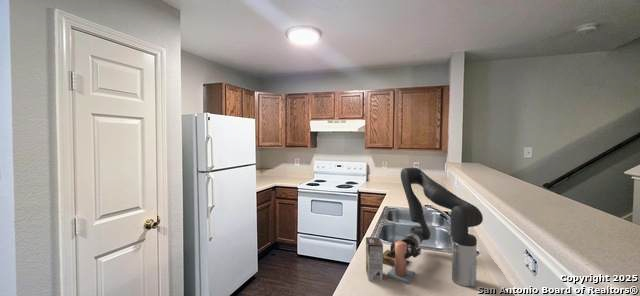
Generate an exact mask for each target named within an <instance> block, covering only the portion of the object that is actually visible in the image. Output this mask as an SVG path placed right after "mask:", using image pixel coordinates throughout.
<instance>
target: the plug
mask: <svg viewBox="0 0 640 296" xmlns="http://www.w3.org/2000/svg"><path fill="white" fill-rule="evenodd" d="M394 243H395V274H396V275H397V276H401V277H403V276H406V270H407V259H405V254H406V251H407V244H406V243H405V242H402V240H397V241H395V242H394Z"/></svg>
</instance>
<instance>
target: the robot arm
mask: <svg viewBox="0 0 640 296" xmlns="http://www.w3.org/2000/svg"><path fill="white" fill-rule="evenodd" d="M400 180H401V184H402V187H403V191H404V194H405V196H406V200H407V203H408V208H409V216H410V221H411V222H412V223H415V224H416V223H417V224H419V225H420V226H411V228H410V229H409V233H408V234H406V235H405V236H404V237H403V238H402V239H401V241H402V242H405V243H406V244H407V251H406V254H405V259H406V260H408V259H410V258H411V257H413V258H417V257H418V256H420V255H421V254H422V249H421V247H420V245H421V244H422V242H423V241H428V240H429V239H431V230H430V229H429V226H428V224H427V222H426V219H425V215H424V209H423V205H422V203H421V201H420V200H419V198H418V197H417V196H416V194H415V193H414V191H413V188H412V185H419V186H421V187H422V188H423V189H422V191H423V195H424V196H425V197H426V198H427V200H429V201H431V202H432V203H433V204H435V205H437V206H439V207H442V208H445V209H448V210H451V211H450V232H451V233H450V234H451V236H452V246H451V247H452V249H451V250H452V253H451V258H452V259H451V280H452V281H453V282H454V283H455V284H457V285H460V286H463V287H472V288H475V287H476V284H477V269H478V268H477V267H478V266H477V265H478V264H477V263H478V260H477V242H478V239H477V237H476V236H475V235H473V234H471V233H469V228H471V227H472V228H473V227H478V226H480V225H481V224H482V223H483V220H484V218H483V214H482V212H481V210H480V209H479V208H478V207H477V206H475V205H474V204H473V203H469V202H468V201H466V200H465V199H463V198H461V197H459V196H458V195H456V194H454V193H453V192H451V191H450V190H449V189H447V188H446V187H444V186H443V185H441V184H440V183H438V182H437V181H435V180H433V178H431V177H429V176H428V175H427V174H426V173H425V172H424V171H423V170H422V169H420V168H418V167H405V168H402V169H401V171H400ZM390 251H391V254H392V256H394V255H395V242H394V241H392V242H391V244H390Z"/></svg>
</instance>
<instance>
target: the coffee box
mask: <svg viewBox="0 0 640 296" xmlns="http://www.w3.org/2000/svg"><path fill="white" fill-rule="evenodd" d="M383 253H384V245H383V243H382V240H381V238H380V237H370V236H367V237H365V272H366V276H367V279H368V282H369V281H371V282H373V281H374V282H375V281H377V282H382V281H383V278H384V277H383V266H384V265H383V264H384V263H383Z"/></svg>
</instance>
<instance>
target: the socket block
mask: <svg viewBox="0 0 640 296" xmlns="http://www.w3.org/2000/svg"><path fill="white" fill-rule="evenodd" d="M383 264H384V265H388V266H391V267H394V266H395V255H394V256H392V254H391V251H390V250H389V249H386V250H385V251H383Z"/></svg>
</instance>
